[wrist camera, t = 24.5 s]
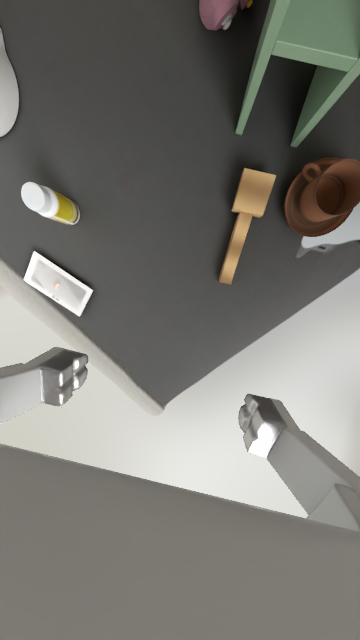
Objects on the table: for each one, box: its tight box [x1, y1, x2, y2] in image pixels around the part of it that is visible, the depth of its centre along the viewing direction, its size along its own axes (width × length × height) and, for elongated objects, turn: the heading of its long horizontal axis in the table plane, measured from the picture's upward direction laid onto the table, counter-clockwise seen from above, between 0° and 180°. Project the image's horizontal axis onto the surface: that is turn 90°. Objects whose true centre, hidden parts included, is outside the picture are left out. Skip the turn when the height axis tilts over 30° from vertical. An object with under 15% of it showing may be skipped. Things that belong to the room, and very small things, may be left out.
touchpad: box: [24, 251, 93, 317], centre depth 39 cm, size 8×15×2 cm, turn 55°
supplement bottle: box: [21, 182, 80, 225], centre depth 31 cm, size 5×5×8 cm
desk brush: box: [218, 168, 276, 284], centre depth 32 cm, size 19×6×3 cm, turn 167°
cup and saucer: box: [284, 157, 360, 237], centre depth 28 cm, size 12×12×6 cm
